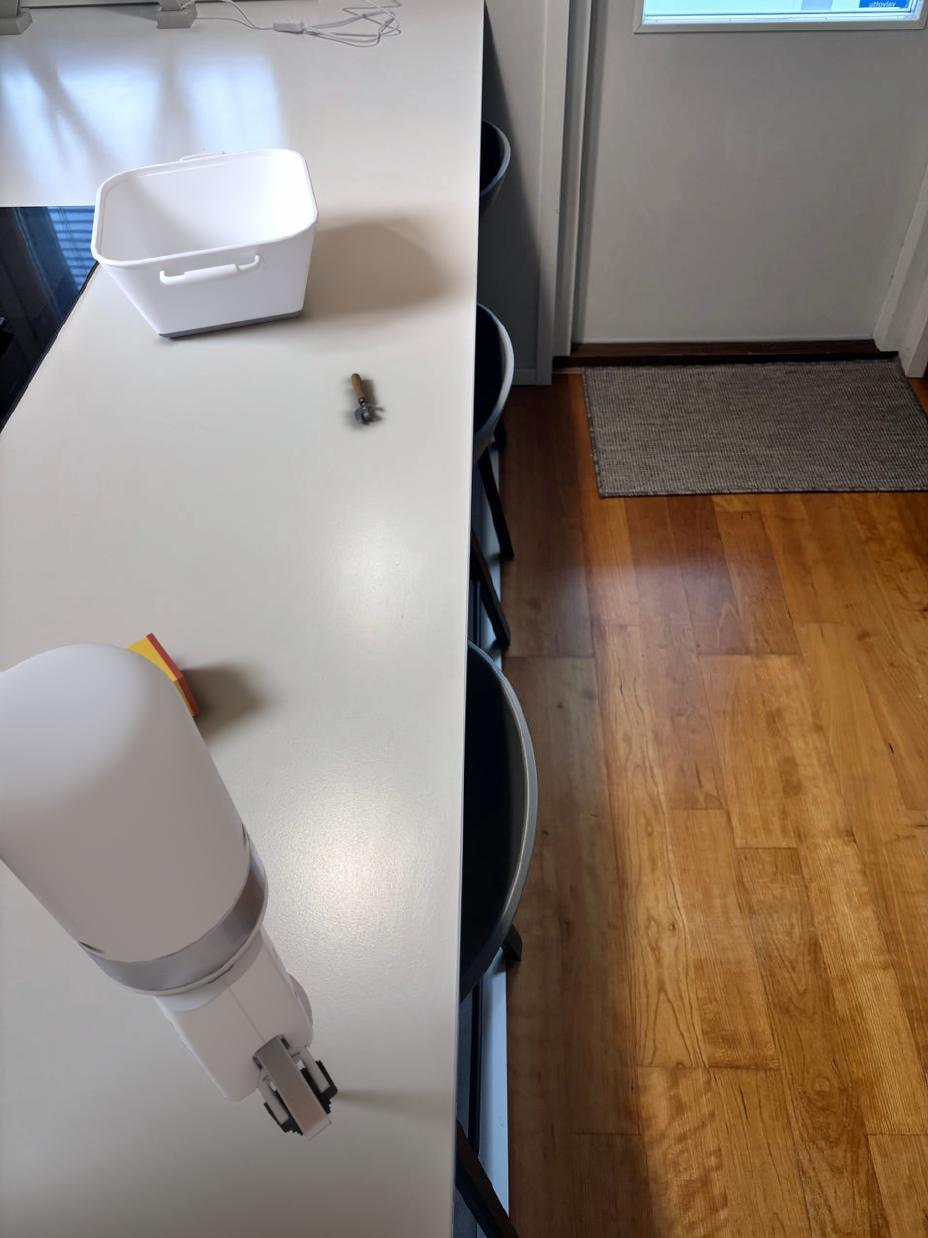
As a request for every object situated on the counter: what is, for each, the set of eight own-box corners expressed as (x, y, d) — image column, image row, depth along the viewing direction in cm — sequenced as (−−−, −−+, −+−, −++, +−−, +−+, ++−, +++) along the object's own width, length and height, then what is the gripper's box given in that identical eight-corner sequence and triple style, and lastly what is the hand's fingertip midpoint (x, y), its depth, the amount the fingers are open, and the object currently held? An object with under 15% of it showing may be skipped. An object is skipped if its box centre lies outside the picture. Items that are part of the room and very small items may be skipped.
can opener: (351, 381, 111) (350, 372, 110) (371, 378, 111) (370, 370, 110) (355, 427, 105) (354, 419, 104) (376, 425, 105) (375, 416, 104)
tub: (345, 346, 116) (327, 246, 107) (124, 384, 114) (85, 285, 104) (315, 223, 139) (299, 131, 129) (130, 252, 136) (99, 161, 127)
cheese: (100, 772, 77) (77, 736, 73) (72, 724, 80) (48, 688, 76) (201, 713, 80) (183, 675, 76) (170, 669, 84) (151, 632, 80)
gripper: (9, 799, 42) (135, 953, 55) (179, 1138, 33) (283, 1229, 45) (162, 711, 45) (248, 877, 58) (360, 999, 35) (411, 1122, 48)
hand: (264, 1031), depth 52 cm, fingers open, 9 cm apart
